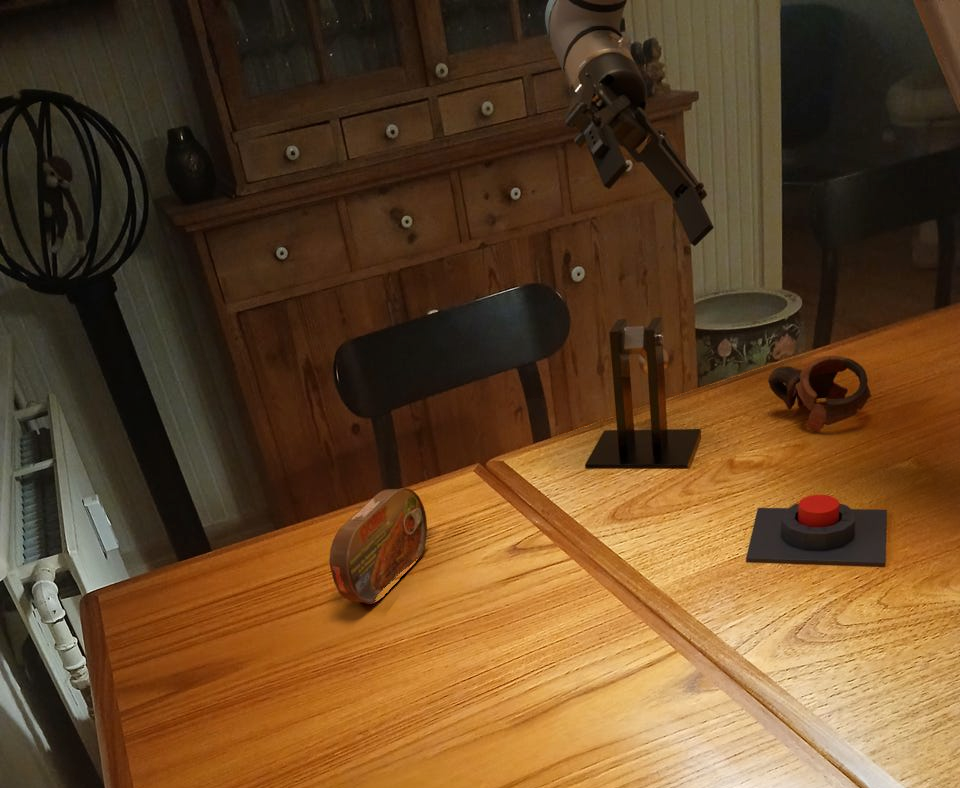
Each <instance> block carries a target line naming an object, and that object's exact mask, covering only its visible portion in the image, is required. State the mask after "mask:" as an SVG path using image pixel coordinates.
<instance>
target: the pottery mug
mask: <svg viewBox="0 0 960 788" xmlns="http://www.w3.org/2000/svg"><path fill="white" fill-rule="evenodd" d="M846 370H849V371H851V372H853V373H854V374H855V376H856V377H857V378H858V380H859V387H858V388H857V390H856V391H855V392H854V393H853V394H851V395H849V396H847V394H848V392H849V389H848V388H847V387H845V386H843V385H841V384H838V383H837V382H835V378H836V376H837V375H838V374H839V373H842V372H845V371H846ZM868 382H869V379H868V375H867V373H866V370H865V368H864V367H863V366H862V365H861V364H860V363H859V362H857V361H855V360H853V359H851V358H848V357H847V358H846V357H844V356H840V355H829V356H828V355H827V356H826V355H825V356H822V357H819V358H816V359H814V360H813V361H811V362H810V363H809V364H808V365H807V366H806V367H805V368H804V369H798V368H795V367H792V366H789V365H788V366H787V365H786V366H785V365H781V366H778V367H776V368H774V369H773V370H772V371H771V373H770V375H769V377H768V380H767V383H768V384H769V388H770V390H771V392H772V393H773V394H774V395H775V396H776V397H777V398H779V399H780V400H781V401H783V402H784V404H785V406H786V408H787V410H792V408H793V407H794V406H795V404H796V400H797V407H798V408H802V407H803V406H805V407H806V408H807V410H809V411H810V413H809V417H808V419H807V420H806V422H805V423H806V428H808V429H810V430H812V431H813V432H820V430H821V429H823V428H824V426H830V425H832V424H836V423H839V422H841V421H844V420H847V419H849V418H851V417H853V416H855V415H857V414H858V410H862V409H863V407H864V406H865V405H866V403H867V401H868V399H870V398H871V397H872V394H871V390H870V388H869V385H868V384H869V383H868ZM820 399H821V400H822V399H825V405H823V404H820V403H819V402H817V400H820Z"/></svg>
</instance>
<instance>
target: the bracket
mask: <svg viewBox="0 0 960 788" xmlns="http://www.w3.org/2000/svg"><path fill="white" fill-rule="evenodd" d="M662 320H663V319H662V317H661V316H658V317H652V319H651V320H650V322H649V324H648V325H647V327H646V331H645V333H646V350H647V366H648V375H647V381H648V383H647V384H648V397H649V413H650V415H649V416H650V429H635V422H634V421H635V420H634V406H633V393H632V379H631V363H630V354H628V353H627V351H626V350H625V349H624V337H625V327H628V319H627V318H619V319H617V320H616V322H615V323H614V325H612V327H611V329H610V330H609V332H608V333H609V339H608V345H609V348H610V357H611V358H610V359H611V370H612V381H613V395H614V406H615V408H614V409H615V420H616V421H615V422H616V429H604V430H603V431H602V433H601V435H600V437H599V439H598V440H597V442H596V444H595V446H594V448H593V450H592V451H591V453H590V455H589V456H588V459H587V460H586V462H585V464H584V469H585V470H690V468H691V466H692V463H693V461H694V458H695V456H696V452H697V450H698V447H699V445H700V442H701V439H702V429H701V428H677V429H676V428H673V429H672V428H670V429H668V418H667V417H668V414H667V399H666V398H667V397H666V394H667V393H666V378H665V375H666V374H665V371H664V355H663V349H664V345H665V333H664V332H663V321H662Z"/></svg>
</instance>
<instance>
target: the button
mask: <svg viewBox="0 0 960 788" xmlns="http://www.w3.org/2000/svg"><path fill="white" fill-rule="evenodd" d="M798 503H799V505H798V522H799V523H800V524H802V525H805V526H808V527H827V526H832V525H835V524H837V522H838V520H839V505H840V504H841V503H840V501H839V500H838V499H837V498H836V497H834V496H831V495H829V494H828V495H827V494H812V495H807V496H805V497H803V498H801V499H800V500H799V501H798ZM839 503H840V504H839Z"/></svg>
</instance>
